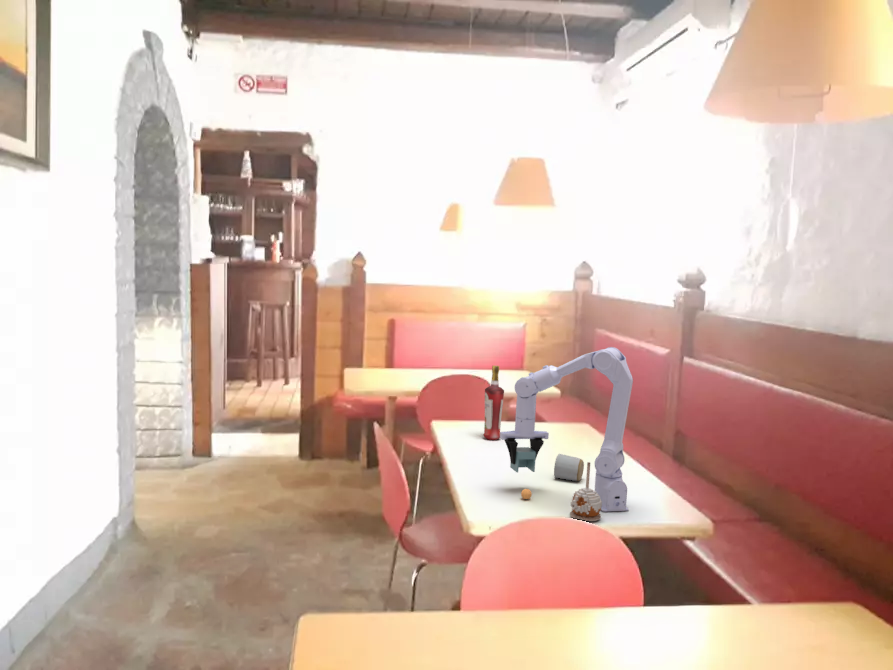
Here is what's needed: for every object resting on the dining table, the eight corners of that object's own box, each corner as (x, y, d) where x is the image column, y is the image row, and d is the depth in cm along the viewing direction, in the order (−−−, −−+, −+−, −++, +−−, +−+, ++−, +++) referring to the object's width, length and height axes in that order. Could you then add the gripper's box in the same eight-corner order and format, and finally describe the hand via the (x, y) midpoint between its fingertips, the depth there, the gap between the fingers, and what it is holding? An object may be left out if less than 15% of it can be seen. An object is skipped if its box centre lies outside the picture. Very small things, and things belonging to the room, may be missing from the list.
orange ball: (533, 500, 211) (533, 490, 211) (523, 501, 210) (523, 490, 210) (529, 497, 214) (529, 487, 214) (519, 497, 213) (519, 487, 213)
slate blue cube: (534, 472, 219) (535, 451, 218) (516, 472, 217) (518, 452, 217) (527, 466, 224) (528, 447, 223) (510, 467, 222) (511, 447, 222)
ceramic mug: (579, 484, 230) (580, 459, 229) (552, 480, 233) (554, 456, 232) (585, 476, 240) (587, 453, 239) (560, 473, 243) (561, 449, 242)
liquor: (479, 436, 288) (483, 364, 286) (497, 436, 291) (501, 364, 288) (486, 441, 281) (490, 367, 279) (504, 440, 284) (508, 367, 281)
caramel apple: (564, 514, 201) (568, 459, 199) (590, 512, 203) (593, 458, 202) (580, 524, 193) (583, 467, 192) (606, 521, 196) (609, 465, 195)
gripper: (543, 414, 225) (540, 459, 226) (497, 414, 221) (494, 460, 222) (552, 419, 218) (549, 465, 219) (505, 419, 214) (502, 466, 215)
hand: (522, 463), depth 220 cm, fingers closed on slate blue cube, 5 cm apart
